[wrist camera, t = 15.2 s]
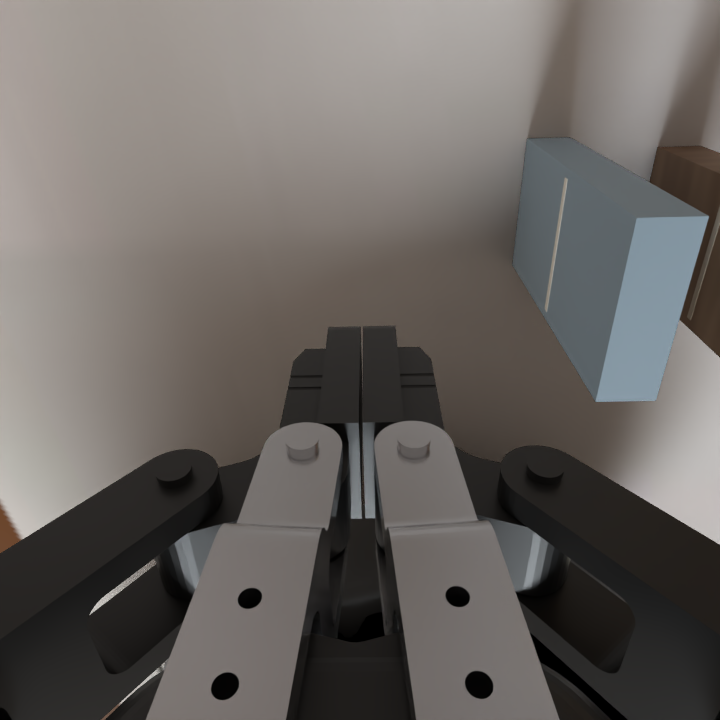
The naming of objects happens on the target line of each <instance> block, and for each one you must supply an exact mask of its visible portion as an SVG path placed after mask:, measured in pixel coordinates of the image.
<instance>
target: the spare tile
mask: <svg viewBox="0 0 720 720" xmlns="http://www.w3.org/2000/svg"><path fill="white" fill-rule="evenodd" d="M708 218H709V216H708V215H706V214H704V213H703V212H701V211H699V210H697V209H696V208H694V207H692V206H690V205H688V204H687V203H685V202H683V201H681V200H680V199H678V198H676V197H674V196H673V195H671V194H669V193H667V192H666V191H664V190H662V189H660V188H659V187H657V186H655V185H653V184H651V183H650V182H648V181H646V180H644V179H643V178H641V177H639V176H637V175H636V174H634V173H632V172H630V171H629V170H627V169H625V168H623V167H622V166H620V165H618V164H616V163H614V162H613V161H611V160H609V159H607V158H606V157H604V156H602V155H600V154H599V153H597V152H595V151H593V150H592V149H590V148H588V147H586V146H585V145H583V144H581V143H579V142H577V141H576V140H574V139H572V138H570V137H564V138H527V143H526V152H525V160H524V169H523V178H522V186H521V195H520V203H519V212H518V220H517V229H516V238H515V246H514V255H513V263H512V265H513V267H514V268H515V270H516V272H517V273H518V275H519V277H520V278H521V280H522V282H523V283H524V285H525V287H526V288H527V290H528V292H529V293H530V295H531V296H532V298H533V300H534V301H535V303H536V305H537V306H538V308H539V310H540V311H541V313H542V315H543V316H544V318H545V319H546V321H547V323H548V324H549V326H550V328H551V329H552V331H553V333H554V334H555V336H556V338H557V339H558V341H559V343H560V344H561V346H562V347H563V349H564V351H565V352H566V354H567V356H568V357H569V359H570V361H571V362H572V364H573V366H574V367H575V369H576V370H577V372H578V374H579V375H580V377H581V379H582V380H583V382H584V384H585V385H586V387H587V389H588V390H589V392H590V394H591V395H592V397H593V398H594V400H595V402H618V401H656V398H657V395H658V392H659V388H660V385H661V381H662V378H663V374H664V371H665V367H666V364H667V360H668V357H669V353H670V350H671V346H672V343H673V340H674V336H675V333H676V329H677V326H678V322H679V319H680V315H681V312H682V308H683V305H684V301H685V298H686V295H687V291H688V288H689V284H690V281H691V277H692V274H693V270H694V267H695V263H696V260H697V256H698V253H699V249H700V246H701V243H702V239H703V236H704V232H705V229H706V225H707V222H708Z"/></svg>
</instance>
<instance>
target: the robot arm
mask: <svg viewBox="0 0 720 720" xmlns="http://www.w3.org/2000/svg"><path fill="white" fill-rule="evenodd" d="M362 433H363V456H364V491H365V518H375V533H376V560H377V569H378V578H379V587H380V596H381V605H382V614H383V623H384V632H385V636H382V637H379V638H375V639H371V640H367V641H363V642H347V641H343V640H339V639H337V637H338V629H339V621H340V613H341V605H342V597H343V589H344V581H345V573H346V565H347V557H348V541H349V539H350V529H351V519H362ZM154 558H155V561H156V565H155V566H153V567H152V568H151V569H149V570H148V571H147V572H146V573H144V574H143V575H142V576H140V577H139V578H138V579H136V580H135V581H134V582H132V583H131V584H130V585H129V586H127V587H126V588H125V589H123V590H122V591H121V592H119V593H118V594H117V595H115V596H114V597H113V598H112V599H110V600H109V601H108V602H106V603H105V604H104V605H102V606H101V607H100V608H98V609H97V610H96V611H95V612H93V613H92V614H91V615H89V614H90V612H91V610H92V609H93V607H94V606H95V605H96V603H97V602H98V601H99V600H100V599H101V598H102V597H104V596H105V595H106V594H107V593H109V592H110V591H111V590H113V589H114V588H115V587H117V586H118V585H119V584H121V583H122V582H123V581H125V580H126V579H127V578H129V577H130V576H131V575H133V574H134V573H135V572H137V571H138V570H139V569H141V568H142V567H143V566H145V565H146V564H147V563H149V562H150V561H151V560H152V559H154ZM570 560H573V561H574V562H575V563H577V564H578V565H579V566H581V567H582V568H583V569H585V570H586V571H587V572H589V573H590V574H591V575H593V576H594V577H596V578H597V579H598V580H600V581H601V582H602V583H604V584H605V585H606V586H608V587H609V588H610V589H612V590H613V591H614V592H616V593H617V594H618V595H619V596H621V597H622V598H623V599H624V600H625V602H624V601H623V600H622V599H620V598H619V597H618V596H616V595H615V594H613V593H612V592H611V591H609V590H608V589H607V588H605V587H604V586H603V585H601V584H600V583H599V582H597V581H596V580H595V579H593V578H592V577H591V576H589V575H588V574H587V573H585V572H584V571H583V570H581V569H580V568H579V567H577V566H576V565H575V564H573V563H572V562H570ZM529 632H530V633H531V634H533V635H534V636H535V637H536V638H537V639H538V640H539V641H540V642H542V643H543V644H544V645H545V646H546V647H547V648H548V649H549V650H551V651H552V652H553V653H554V654H555V655H556V656H557V657H558V658H559V659H561V660H562V661H563V662H564V663H565V664H566V665H567V666H568V667H570V668H571V669H572V670H573V671H574V672H575V673H576V674H577V675H579V676H580V677H581V678H582V679H583V680H584V681H585V682H586V683H587V684H589V685H590V686H591V687H592V688H593V689H594V690H595V691H596V692H598V693H599V694H600V695H601V696H602V697H603V698H604V699H605V700H607V701H608V702H609V703H610V704H611V705H612V706H613V707H614V708H615V709H617V710H618V711H619V712H620V713H621V714H622V715H623V716H624V717H626V718H627V719H628V720H720V545H719V544H717V543H716V542H714V541H712V540H711V539H709V538H707V537H706V536H704V535H702V534H701V533H699V532H697V531H696V530H694V529H692V528H691V527H689V526H687V525H686V524H684V523H682V522H681V521H679V520H677V519H676V518H674V517H672V516H671V515H669V514H667V513H666V512H664V511H662V510H661V509H659V508H657V507H656V506H654V505H652V504H650V503H649V502H647V501H645V500H644V499H642V498H640V497H639V496H637V495H635V494H634V493H632V492H630V491H629V490H627V489H625V488H624V487H622V486H620V485H619V484H617V483H615V482H614V481H612V480H610V479H609V478H607V477H605V476H604V475H602V474H600V473H599V472H597V471H595V470H594V469H592V468H590V467H589V466H587V465H585V464H584V463H582V462H580V461H579V460H577V459H575V458H574V457H572V456H570V455H568V454H566V453H564V452H562V451H560V450H557V449H554V448H550V447H545V446H524V447H520V448H517V449H514V450H512V451H511V452H509V453H508V454H507V455H506V456H505V457H504V458H503V460H502V462H501V463H499V462H494V461H489V460H485V459H481V458H477V457H474V456H471V455H469V454H466V453H465V452H463V451H461V450H459V449H458V448H456V447H455V446H454V444H453V442H452V439H451V438H450V436H449V435H448V434H447V433H446V432H445V431H444V426H443V421H442V416H441V410H440V405H439V400H438V394H437V389H436V384H435V378H434V373H433V367H432V362H431V359H430V358H429V357H428V356H427V355H426V354H425V352H424V351H423V350H422V349H421V348H420V347H397V338H396V328H395V326H363V394H362V356H361V327H329V328H328V334H327V343H326V349H305V350H304V351H303V352H302V353H301V354H300V355H299V356H298V357H297V358H296V359H295V361H294V362H293V366H292V371H291V378H290V381H289V386H288V391H287V395H286V400H285V405H284V410H283V415H282V420H281V425H280V429H279V430H277V431H276V432H274V433H273V434H272V435H271V436H270V437H269V438H268V439H267V440H266V442H265V444H264V447H263V449H262V452H261V454H260V455H258V456H256V457H255V458H252V459H250V460H247V461H244V462H240V463H236V464H232V465H228V466H224V467H220V468H218V465H217V463H216V461H215V460H214V458H213V457H211V456H210V455H209V454H207V453H205V452H202V451H199V450H192V449H183V450H176V451H171V452H167V453H164V454H162V455H159V456H157V457H155V458H153V459H152V460H150V461H148V462H147V463H145V464H143V465H142V466H140V467H139V468H137V469H135V470H134V471H132V472H131V473H129V474H127V475H126V476H124V477H123V478H121V479H119V480H118V481H116V482H114V483H113V484H111V485H110V486H108V487H106V488H105V489H103V490H102V491H100V492H98V493H97V494H95V495H94V496H92V497H90V498H89V499H87V500H86V501H84V502H82V503H81V504H79V505H77V506H76V507H74V508H73V509H71V510H69V511H68V512H66V513H65V514H63V515H61V516H60V517H58V518H57V519H55V520H53V521H52V522H50V523H48V524H47V525H45V526H44V527H42V528H40V529H39V530H37V531H36V532H34V533H32V534H31V535H29V536H28V537H26V538H24V539H23V540H21V541H19V542H18V543H16V544H15V545H13V546H11V547H10V548H8V549H7V550H5V551H3V552H2V553H0V720H101V719H102V718H103V717H104V716H105V715H106V714H107V713H109V712H110V711H111V710H112V709H113V708H114V707H115V706H116V705H117V704H119V703H120V702H121V701H122V700H123V699H124V698H125V697H126V696H127V695H128V694H130V693H131V692H132V691H133V690H134V689H135V688H136V687H137V686H138V685H140V684H141V683H142V682H143V681H144V680H145V679H146V678H147V677H148V676H149V675H151V674H152V673H153V672H154V671H155V670H156V669H157V668H158V667H159V666H160V665H162V664H163V663H164V662H165V661H166V662H165V665H164V669H163V671H162V672H160V673H159V674H157V675H156V676H154V677H153V678H151V679H150V680H149V681H147V682H146V683H145V684H144V685H142V686H141V687H140V688H138V689H137V690H136V691H135V692H134V693H133V694H132V695H130V696H129V697H128V698H127V699H126V700H125V701H124V702H123V703H122V704H121V705H120V706H119V707H118V708H117V709H116V710H115V711H114V712H113V713H112V714H111V715H109V716H108V717H107V718H106V720H611V719H610V718H609V717H608V716H607V715H606V714H605V713H604V712H603V711H602V710H601V709H600V708H599V707H598V706H597V705H595V704H594V703H593V702H592V701H591V700H590V699H589V698H588V697H587V696H586V695H585V694H584V693H583V692H582V691H581V690H579V689H578V688H577V687H576V686H575V685H573V684H572V683H571V682H570V681H568V680H567V679H566V678H564V677H563V676H562V675H560V674H559V673H557V672H556V671H554V670H552V669H551V668H549V667H548V666H546V665H544V664H542V663H540V662H539V659H538V656H537V653H536V650H535V647H534V644H533V641H532V638H531V635H530V633H529Z"/></svg>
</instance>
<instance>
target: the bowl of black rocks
mask: <svg viewBox="0 0 720 720" xmlns="http://www.w3.org/2000/svg"><path fill="white" fill-rule="evenodd" d="M570 562H572V563H573V564H575V565H576V566H577V567H579V568H580V569H581V570H583V571H584V572H585V573H587V574H588V575H589V576H591V577H592V578H593V579H595V580H596V581H597V582H599V583H600V584H601V585H603V586H604V587H605V588H607V589H608V590H609V591H611V592H612V593H613V594H615V595H616V596H618V597H619V598H620V599H622V600H623V601H624V602H625V600H624V599H623V598H622V597H621V596H619V595H618V594H617V593H616V592H614V591H613V590H612V589H610V588H609V587H608V586H606V585H605V584H604V583H602V582H601V581H600V580H598V579H597V578H596V577H594V576H593V575H591V574H590V573H589V572H587V571H586V570H585V569H583V568H582V567H581V566H579V565H578V564H577V563H575V562H574V561H573V560H570ZM529 633H530V632H529ZM530 635H531V638H532V641H533V644H534V647H535V650H536V653H537V656H538V659H539V662H540V663H542V664H544V665H546V666H548V667H549V668H551V669H552V670H554V671H556V672H557V673H559V674H560V675H562V676H563V677H564V678H566V679H567V680H568V681H570V682H571V683H572V684H573V685H575V686H576V687H577V688H578V689H579V690H581V691H582V692H583V693H584V694H585V695H586V696H587V697H588V698H589V699H590V700H591V701H592V702H593V703H594V704H595V705H597V706H598V707H599V708H600V709H601V710H602V711H603V712H604V713H605V714H606V715H607V716H608V717H609V718H610V719H611V720H628V719H627V718H626V717H624V716H623V715H622V714H621V713H620V712H619V711H618V710H617V709H615V708H614V707H613V706H612V705H611V704H610V703H609V702H608V701H607V700H605V699H604V698H603V697H602V696H601V695H600V694H599V693H598V692H596V691H595V690H594V689H593V688H592V687H591V686H590V685H589V684H587V683H586V682H585V681H584V680H583V679H582V678H581V677H580V676H579V675H577V674H576V673H575V672H574V671H573V670H572V669H571V668H570V667H568V666H567V665H566V664H565V663H564V662H563V661H562V660H561V659H559V658H558V657H557V656H556V655H555V654H554V653H553V652H552V651H551V650H549V649H548V648H547V647H546V646H545V645H544V644H543V643H542V642H540V641H539V640H538V639H537V638H536V637H535V636H534V635H533V634H531V633H530ZM382 636H385V632H384V623H383V614H382V605H381V596H380V587H379V578H378V569H377V560H376V533H375V518H365V504H364V505H362V519H351V529H350V539H349V541H348V557H347V565H346V573H345V581H344V589H343V597H342V605H341V613H340V621H339V629H338V637H337V639H339V640H343V641H347V642H363V641H367V640H371V639H375V638H379V637H382Z"/></svg>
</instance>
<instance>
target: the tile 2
mask: <svg viewBox="0 0 720 720" xmlns="http://www.w3.org/2000/svg"><path fill="white" fill-rule="evenodd" d="M650 183H651V184H653V185H655V186H657V187H659V188H660V189H662V190H664V191H666V192H667V193H669V194H671V195H673V196H674V197H676V198H678V199H680V200H681V201H683V202H685V203H687V204H688V205H690V206H692V207H694V208H696V209H697V210H699V211H701V212H703V213H704V214H706V215H708V216H709V218H708V222H707V225H706V229H705V232H704V236H703V239H702V243H701V246H700V249H699V253H698V256H697V260H696V263H695V267H694V270H693V274H692V277H691V281H690V284H689V288H688V291H687V295H686V298H685V301H684V305H683V308H682V312H681V315H680V320H681V321H682V322H683V323H684V324H685V325H686V326H687V327H688V328H689V329H690V330H691V331H692V332H693V333H694V334H696V335H697V336H698V337H699V338H700V339H701V340H702V341H703V342H704V343H705V344H706V345H707V346H708V347H709V348H710V349H711V350H712V351H714V352H715V353H716V354H717V355H718V356H719V357H720V153H718V152H716V151H713V150H710V149H707V148H705V147H702V146H681V147H658V148H657V152H656V157H655V161H654V165H653V170H652V174H651V179H650Z"/></svg>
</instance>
